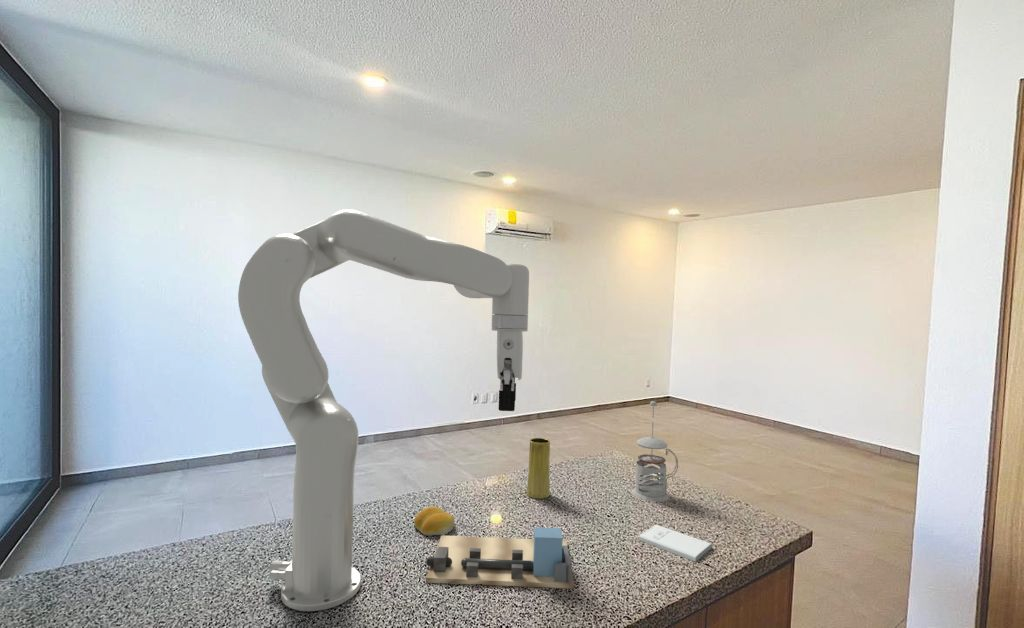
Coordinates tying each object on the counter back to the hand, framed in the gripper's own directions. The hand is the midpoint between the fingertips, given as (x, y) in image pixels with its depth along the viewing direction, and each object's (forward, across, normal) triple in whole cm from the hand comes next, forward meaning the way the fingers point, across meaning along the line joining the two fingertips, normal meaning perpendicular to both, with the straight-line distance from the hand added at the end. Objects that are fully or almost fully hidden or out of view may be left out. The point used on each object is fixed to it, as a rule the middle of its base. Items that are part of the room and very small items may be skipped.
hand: (507, 405), depth 101 cm
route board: (+28, -8, 0) cm, 30 cm away
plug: (+28, -12, -2) cm, 30 cm away
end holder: (+27, -12, -11) cm, 32 cm away
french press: (+28, +29, -39) cm, 56 cm away
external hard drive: (+29, +2, -36) cm, 46 cm away
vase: (+28, +26, -8) cm, 39 cm away
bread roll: (+29, +5, +16) cm, 33 cm away
